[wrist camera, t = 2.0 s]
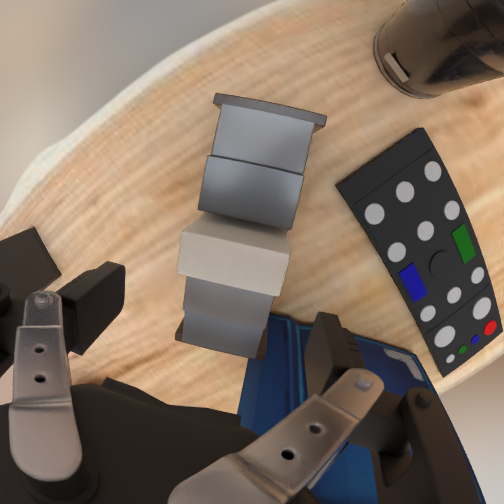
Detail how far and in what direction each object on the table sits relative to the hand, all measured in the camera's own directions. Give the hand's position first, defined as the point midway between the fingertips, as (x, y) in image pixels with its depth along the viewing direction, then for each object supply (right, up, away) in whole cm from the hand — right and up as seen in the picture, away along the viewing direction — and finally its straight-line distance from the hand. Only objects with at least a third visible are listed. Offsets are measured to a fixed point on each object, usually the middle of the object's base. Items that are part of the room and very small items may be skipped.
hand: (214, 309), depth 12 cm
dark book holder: (-31, 0, +23) cm, 39 cm away
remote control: (+23, 0, +19) cm, 30 cm away
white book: (+1, +6, +18) cm, 19 cm away
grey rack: (+1, +6, +19) cm, 20 cm away
